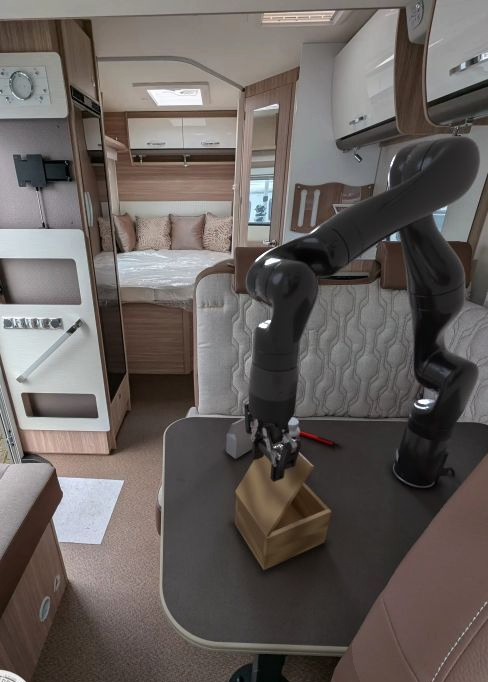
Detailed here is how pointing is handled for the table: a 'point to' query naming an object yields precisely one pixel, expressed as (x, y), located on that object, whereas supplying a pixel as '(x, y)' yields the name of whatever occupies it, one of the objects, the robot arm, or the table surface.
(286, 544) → the chest
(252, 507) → the lid
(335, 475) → the table surface
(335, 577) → the table surface
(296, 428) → the pill bottle
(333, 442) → the pen
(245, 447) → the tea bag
